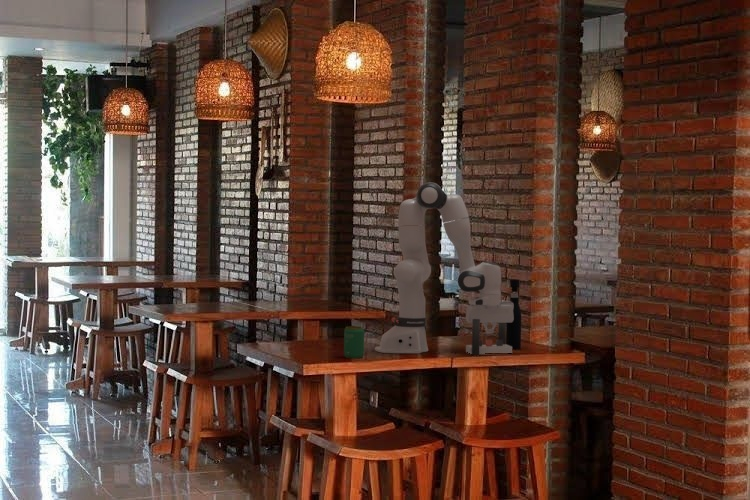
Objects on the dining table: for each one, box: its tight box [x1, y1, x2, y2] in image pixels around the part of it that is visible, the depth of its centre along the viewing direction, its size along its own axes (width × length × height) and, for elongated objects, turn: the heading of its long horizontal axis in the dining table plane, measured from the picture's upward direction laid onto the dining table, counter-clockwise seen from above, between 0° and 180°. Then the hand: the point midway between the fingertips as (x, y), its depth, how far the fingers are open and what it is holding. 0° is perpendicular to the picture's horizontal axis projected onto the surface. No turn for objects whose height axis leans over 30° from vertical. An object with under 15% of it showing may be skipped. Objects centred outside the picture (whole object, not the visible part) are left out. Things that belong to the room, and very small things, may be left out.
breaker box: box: [465, 344, 513, 355], centre depth 444 cm, size 18×7×3 cm, turn 102°
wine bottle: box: [505, 278, 522, 350], centre depth 458 cm, size 6×6×30 cm
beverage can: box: [343, 325, 365, 359], centre depth 425 cm, size 8×8×12 cm
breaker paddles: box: [479, 339, 503, 346], centre depth 444 cm, size 11×1×2 cm, turn 102°
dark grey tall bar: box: [471, 319, 481, 356], centre depth 436 cm, size 3×3×15 cm
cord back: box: [497, 323, 506, 345], centre depth 452 cm, size 3×3×15 cm
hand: (489, 333), depth 444 cm, fingers closed
